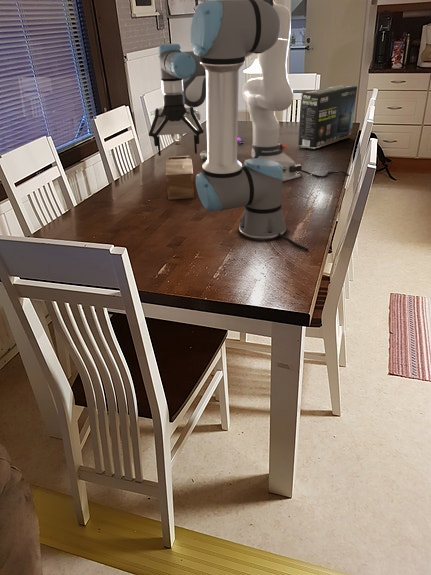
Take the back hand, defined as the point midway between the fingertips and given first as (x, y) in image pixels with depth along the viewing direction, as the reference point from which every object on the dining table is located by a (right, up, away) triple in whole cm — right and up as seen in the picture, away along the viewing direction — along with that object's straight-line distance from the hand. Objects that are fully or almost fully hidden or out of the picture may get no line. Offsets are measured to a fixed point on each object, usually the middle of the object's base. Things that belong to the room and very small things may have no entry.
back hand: (177, 144), depth 198 cm
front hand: (+2, -12, -26) cm, 28 cm away
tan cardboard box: (+2, -22, -10) cm, 24 cm away
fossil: (+18, +2, +28) cm, 33 cm away
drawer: (+1, -15, -1) cm, 15 cm away
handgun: (+26, +20, +58) cm, 67 cm away
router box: (+75, +15, +46) cm, 89 cm away
